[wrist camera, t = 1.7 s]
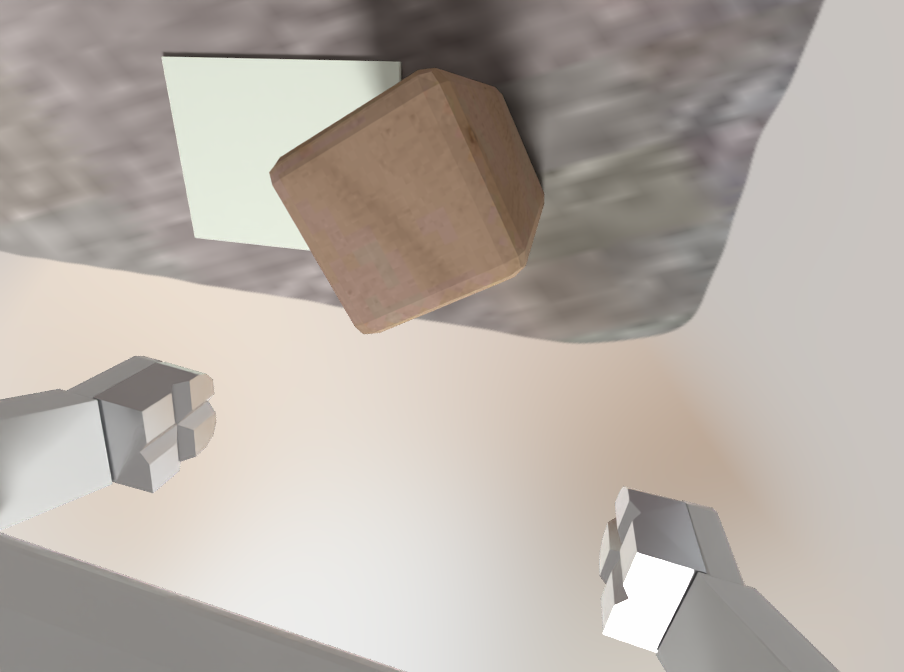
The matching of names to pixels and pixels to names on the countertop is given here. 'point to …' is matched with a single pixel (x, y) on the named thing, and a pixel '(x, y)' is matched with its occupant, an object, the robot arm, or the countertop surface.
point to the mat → (256, 133)
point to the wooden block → (414, 198)
